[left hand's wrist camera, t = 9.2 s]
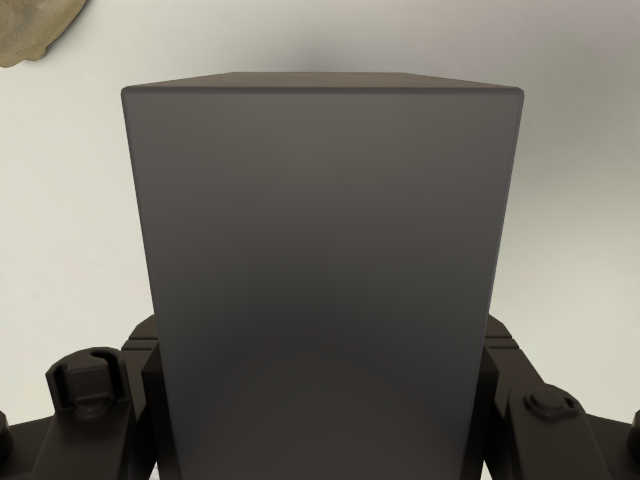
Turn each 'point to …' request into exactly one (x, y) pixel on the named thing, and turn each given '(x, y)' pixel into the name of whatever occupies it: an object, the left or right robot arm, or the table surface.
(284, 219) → the post
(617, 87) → the table surface
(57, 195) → the table surface
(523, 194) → the table surface
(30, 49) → the sculpture
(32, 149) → the table surface
